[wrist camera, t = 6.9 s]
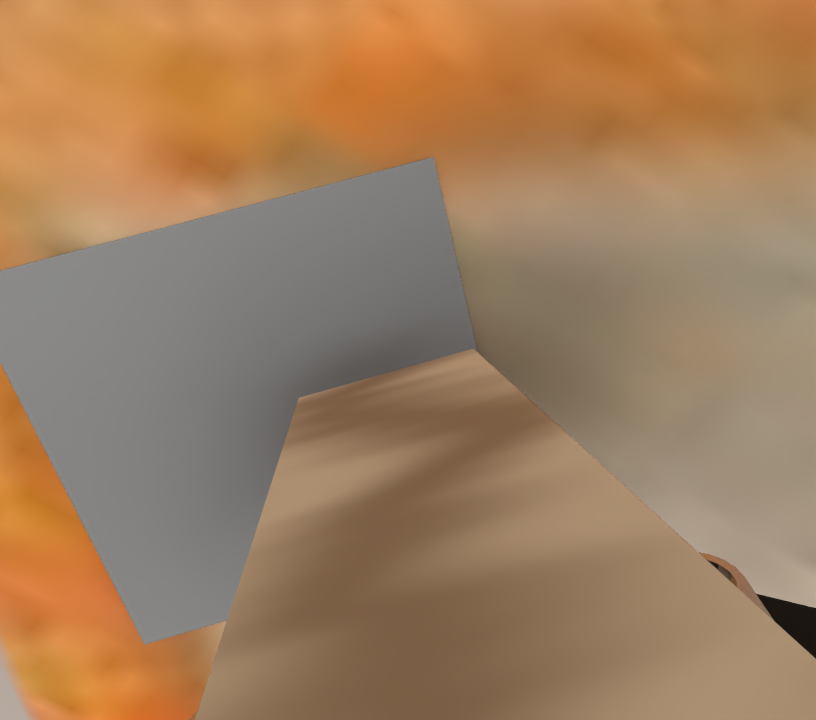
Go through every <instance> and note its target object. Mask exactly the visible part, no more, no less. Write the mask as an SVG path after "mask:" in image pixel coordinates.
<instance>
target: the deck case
mask: <svg viewBox="0 0 816 720" xmlns="http://www.w3.org/2000/svg"><path fill="white" fill-rule="evenodd" d="M195 720H816V659H815V658H814V657H813V656H812V655H811V654H810V653H809V652H808V651H807V650H805V649H804V648H803V647H802V646H801V645H800V644H799V643H798V642H797V641H796V640H794V639H793V638H792V637H791V636H790V635H789V634H788V633H787V632H786V631H784V630H783V629H782V628H781V627H780V626H779V625H778V624H777V623H776V622H775V621H773V620H772V619H771V618H770V617H769V616H768V615H767V614H766V613H765V612H764V611H762V610H761V609H760V608H759V607H758V606H757V605H756V604H755V603H754V602H752V601H751V600H750V599H749V598H748V597H747V596H746V595H745V594H744V593H743V592H741V591H740V590H739V589H738V588H737V587H736V586H735V585H734V584H733V583H732V582H730V581H729V580H728V579H727V578H726V577H725V576H724V575H723V574H722V573H720V572H719V571H718V570H717V569H716V568H715V567H714V566H713V565H712V564H711V563H709V562H708V561H707V560H706V559H705V558H704V557H703V556H702V555H701V554H699V553H698V552H697V551H696V550H695V549H694V548H693V547H692V546H691V545H690V544H688V543H687V542H686V541H685V540H684V539H683V538H682V537H681V536H680V535H679V534H677V533H676V532H675V531H674V530H673V529H672V528H671V527H670V526H669V525H667V524H666V523H665V522H664V521H663V520H662V519H661V518H660V517H659V516H658V515H656V514H655V513H654V512H653V511H652V510H651V509H650V508H649V507H648V506H646V505H645V504H644V503H643V502H642V501H641V500H640V499H639V498H638V497H637V496H635V495H634V494H633V493H632V492H631V491H630V490H629V489H628V488H627V487H626V486H624V485H623V484H622V483H621V482H620V481H619V480H618V479H617V478H616V477H614V476H613V475H612V474H611V473H610V472H609V471H608V470H607V469H606V468H605V467H603V466H602V465H601V464H600V463H599V462H598V461H597V460H596V459H595V458H594V457H592V456H591V455H590V454H589V453H588V452H587V451H586V450H585V449H584V448H582V447H581V446H580V445H579V444H578V443H577V442H576V441H575V440H574V439H573V438H571V437H570V436H569V435H568V434H567V433H566V432H565V431H564V430H563V429H561V428H560V427H559V426H558V425H557V424H556V423H555V422H554V421H553V420H552V419H550V418H549V417H548V416H547V415H546V414H545V413H544V412H543V411H542V410H541V409H539V408H538V407H537V406H536V405H535V404H534V403H533V402H532V401H531V400H529V399H528V398H527V397H526V396H525V395H524V394H523V393H522V392H521V391H520V390H518V389H517V388H516V387H515V386H514V385H513V384H512V383H511V382H510V381H508V380H507V379H506V378H505V377H504V376H503V375H502V374H501V373H500V372H499V371H497V370H496V369H495V368H494V367H493V366H492V365H491V364H490V363H489V362H488V361H486V360H485V359H484V358H483V357H482V356H481V355H480V354H479V353H478V352H476V351H475V350H474V349H470V350H467V351H463V352H460V353H456V354H452V355H449V356H445V357H442V358H438V359H435V360H431V361H428V362H424V363H421V364H417V365H413V366H410V367H406V368H403V369H399V370H396V371H392V372H389V373H385V374H382V375H378V376H374V377H371V378H367V379H364V380H360V381H357V382H353V383H350V384H346V385H343V386H339V387H335V388H332V389H328V390H325V391H321V392H318V393H314V394H311V395H307V396H304V397H300V398H299V399H298V402H297V405H296V408H295V411H294V414H293V417H292V420H291V423H290V427H289V430H288V433H287V436H286V439H285V442H284V445H283V448H282V451H281V455H280V458H279V461H278V464H277V467H276V470H275V473H274V476H273V479H272V483H271V486H270V489H269V492H268V495H267V498H266V501H265V504H264V507H263V510H262V514H261V517H260V520H259V523H258V526H257V529H256V532H255V535H254V538H253V542H252V545H251V548H250V551H249V554H248V557H247V560H246V563H245V566H244V570H243V573H242V576H241V579H240V582H239V585H238V588H237V591H236V594H235V597H234V601H233V604H232V607H231V610H230V613H229V616H228V619H227V622H226V625H225V629H224V632H223V635H222V638H221V641H220V644H219V647H218V650H217V653H216V657H215V660H214V663H213V666H212V669H211V672H210V675H209V678H208V681H207V684H206V688H205V691H204V694H203V697H202V700H201V703H200V706H199V709H198V712H197V716H196V719H195Z"/></svg>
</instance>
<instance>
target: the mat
mask: <svg viewBox="0 0 816 720" xmlns="http://www.w3.org/2000/svg"><path fill="white" fill-rule="evenodd" d="M470 349H474V350H475V351H476V352H477V347H476V343H475V338H474V334H473V329H472V325H471V321H470V316H469V312H468V307H467V303H466V298H465V294H464V289H463V285H462V281H461V276H460V272H459V267H458V263H457V258H456V254H455V249H454V245H453V241H452V236H451V232H450V227H449V223H448V218H447V214H446V209H445V205H444V201H443V196H442V192H441V187H440V183H439V178H438V174H437V169H436V165H435V161H434V157H431V158H427V159H424V160H420V161H416V162H412V163H408V164H405V165H401V166H397V167H393V168H389V169H386V170H382V171H378V172H374V173H370V174H367V175H363V176H359V177H355V178H351V179H347V180H344V181H340V182H336V183H332V184H328V185H325V186H321V187H317V188H313V189H309V190H306V191H302V192H298V193H294V194H290V195H287V196H283V197H279V198H275V199H271V200H268V201H264V202H260V203H256V204H252V205H249V206H245V207H241V208H237V209H233V210H230V211H226V212H222V213H218V214H214V215H211V216H207V217H203V218H199V219H195V220H192V221H188V222H184V223H180V224H176V225H173V226H169V227H165V228H161V229H157V230H154V231H150V232H146V233H142V234H138V235H135V236H131V237H127V238H123V239H119V240H116V241H112V242H108V243H104V244H100V245H97V246H93V247H89V248H85V249H81V250H78V251H74V252H70V253H66V254H62V255H59V256H55V257H51V258H47V259H43V260H40V261H36V262H32V263H28V264H24V265H21V266H17V267H13V268H9V269H5V270H2V271H0V363H1V365H2V367H3V369H4V371H5V373H6V375H7V377H8V379H9V381H10V383H11V385H12V386H13V388H14V390H15V392H16V394H17V396H18V398H19V400H20V402H21V404H22V406H23V408H24V410H25V412H26V414H27V416H28V418H29V420H30V422H31V424H32V426H33V428H34V429H35V431H36V433H37V435H38V437H39V439H40V441H41V443H42V445H43V447H44V449H45V451H46V453H47V455H48V457H49V459H50V461H51V463H52V465H53V467H54V469H55V471H56V473H57V474H58V476H59V478H60V480H61V482H62V484H63V486H64V488H65V490H66V492H67V494H68V496H69V498H70V500H71V502H72V504H73V506H74V508H75V510H76V512H77V514H78V516H79V518H80V519H81V521H82V523H83V525H84V527H85V529H86V531H87V533H88V535H89V537H90V539H91V541H92V543H93V545H94V547H95V549H96V551H97V553H98V555H99V557H100V559H101V561H102V563H103V564H104V566H105V568H106V570H107V572H108V574H109V576H110V578H111V580H112V582H113V584H114V586H115V588H116V590H117V592H118V594H119V596H120V598H121V600H122V602H123V604H124V606H125V608H126V609H127V611H128V613H129V615H130V617H131V619H132V621H133V623H134V625H135V627H136V629H137V631H138V633H139V635H140V637H141V639H142V641H143V643H144V645H145V644H148V643H152V642H155V641H158V640H162V639H165V638H169V637H172V636H175V635H179V634H182V633H186V632H189V631H192V630H196V629H199V628H203V627H206V626H209V625H213V624H216V623H219V622H223V621H226V620H227V619H228V616H229V613H230V610H231V607H232V604H233V601H234V597H235V594H236V591H237V588H238V585H239V582H240V579H241V576H242V573H243V570H244V566H245V563H246V560H247V557H248V554H249V551H250V548H251V545H252V542H253V538H254V535H255V532H256V529H257V526H258V523H259V520H260V517H261V514H262V510H263V507H264V504H265V501H266V498H267V495H268V492H269V489H270V486H271V483H272V479H273V476H274V473H275V470H276V467H277V464H278V461H279V458H280V455H281V451H282V448H283V445H284V442H285V439H286V436H287V433H288V430H289V427H290V423H291V420H292V417H293V414H294V411H295V408H296V405H297V402H298V399H299V398H300V397H304V396H307V395H311V394H314V393H318V392H321V391H325V390H328V389H332V388H335V387H339V386H343V385H346V384H350V383H353V382H357V381H360V380H364V379H367V378H371V377H374V376H378V375H382V374H385V373H389V372H392V371H396V370H399V369H403V368H406V367H410V366H413V365H417V364H421V363H424V362H428V361H431V360H435V359H438V358H442V357H445V356H449V355H452V354H456V353H460V352H463V351H467V350H470Z"/></svg>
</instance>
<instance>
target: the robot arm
mask: <svg viewBox="0 0 816 720" xmlns="http://www.w3.org/2000/svg"><path fill="white" fill-rule="evenodd" d="M698 553H699V552H698ZM699 554H701V555H702V556H703V557H704V558H705V559H706V560H707V561H708V562H709V563H711V564H712V565H713V566H714V567H715V568H716V569H717V570H718V571H719V572H720V573H722V574H723V575H724V576H725V577H726V578H727V579H728V580H729V581H730V582H732V583H733V584H734V585H735V586H736V587H737V588H738V589H739V590H740V591H741V592H743V593H744V594H745V595H746V596H747V597H748V598H749V599H750V600H751V601H752V602H754V603H755V604H756V605H757V606H758V607H759V608H760V609H761V610H762V611H764V612H765V613H766V614H767V615H768V616H769V617H770V618H771V619H772V620H773V621H775V622H776V623H777V624H778V625H779V626H780V627H781V628H782V629H783V630H784V631H786V632H787V633H788V634H789V635H790V636H791V637H792V638H793V639H794V640H796V641H797V642H798V643H799V644H800V645H801V646H802V647H803V648H804V649H805V650H807V651H808V652H809V653H810V654H811V655H812V656H813V657H814V658H815V659H816V608H812V607H808V606H804V605H800V604H796V603H792V602H788V601H784V600H779V599H775V598H771V597H767V596H763V595H759V594H756V593H755V592H754V590H753V589H752V587H751V586H750V584H749V583H748V581H747V580H746V578H745V577H744V576H743V575H742V574H741V573H740V572H739V570H738V569H737V568H736V567H734V566H733V565H731V564H730V563H728V562H726V561H725V560H723V559H720V558H718V557H715V556H712V555H709V554H704V553H699ZM197 712H198V711H197ZM197 712H196V713H194V714H193V715H192V717H191V718H190V719H189V720H195V719H196V716H197Z"/></svg>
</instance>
